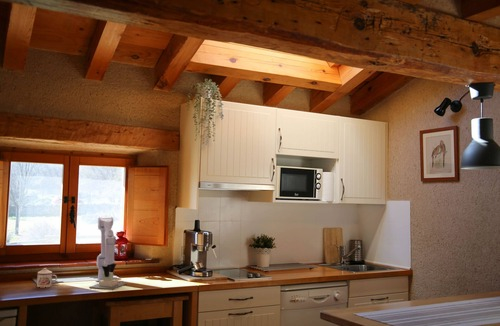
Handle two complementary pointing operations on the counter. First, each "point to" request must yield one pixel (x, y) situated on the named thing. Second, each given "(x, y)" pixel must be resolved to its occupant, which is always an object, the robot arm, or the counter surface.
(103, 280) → the sage cube
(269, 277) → the counter surface
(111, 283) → the stacking base
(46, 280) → the teacup with lid
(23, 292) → the counter surface
